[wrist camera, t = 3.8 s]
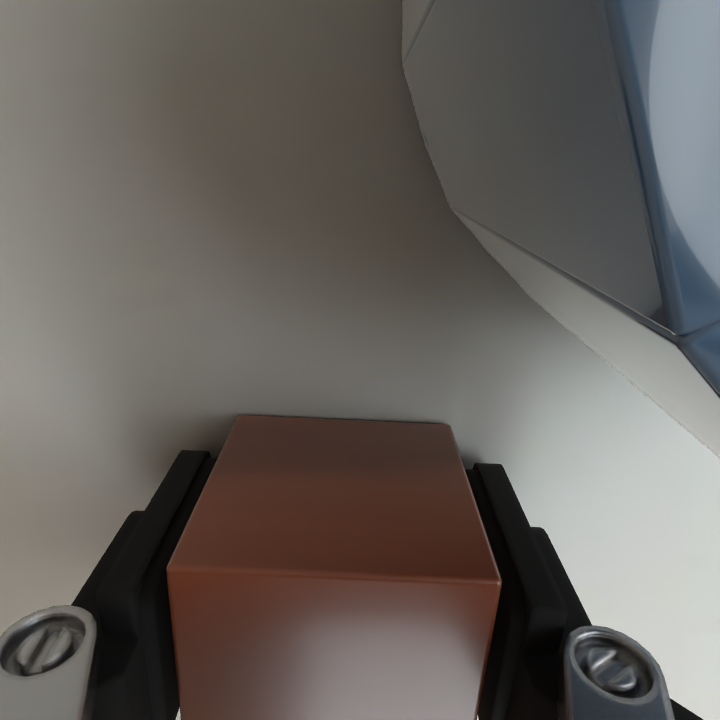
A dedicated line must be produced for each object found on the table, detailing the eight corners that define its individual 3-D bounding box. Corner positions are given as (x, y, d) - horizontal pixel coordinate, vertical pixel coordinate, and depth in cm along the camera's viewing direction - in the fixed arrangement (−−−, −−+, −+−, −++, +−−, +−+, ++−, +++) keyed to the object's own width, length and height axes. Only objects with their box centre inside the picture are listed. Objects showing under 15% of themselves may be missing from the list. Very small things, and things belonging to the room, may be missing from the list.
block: (236, 412, 11) (163, 567, 7) (450, 423, 11) (505, 580, 7) (242, 582, 13) (185, 789, 8) (430, 589, 13) (464, 800, 9)
